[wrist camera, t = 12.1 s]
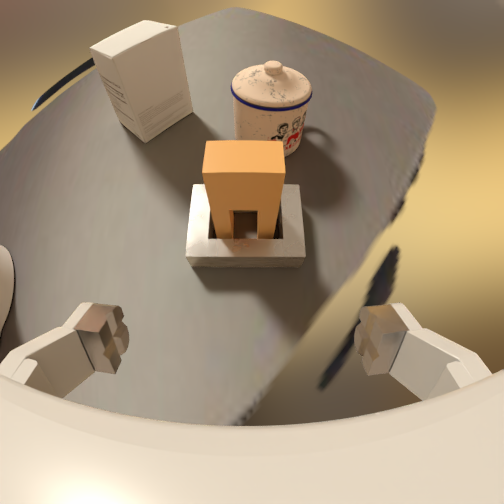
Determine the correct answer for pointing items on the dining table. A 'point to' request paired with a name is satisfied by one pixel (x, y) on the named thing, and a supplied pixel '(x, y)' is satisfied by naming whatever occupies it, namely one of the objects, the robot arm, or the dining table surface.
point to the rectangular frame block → (246, 250)
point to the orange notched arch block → (244, 183)
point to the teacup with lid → (270, 104)
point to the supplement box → (145, 77)
